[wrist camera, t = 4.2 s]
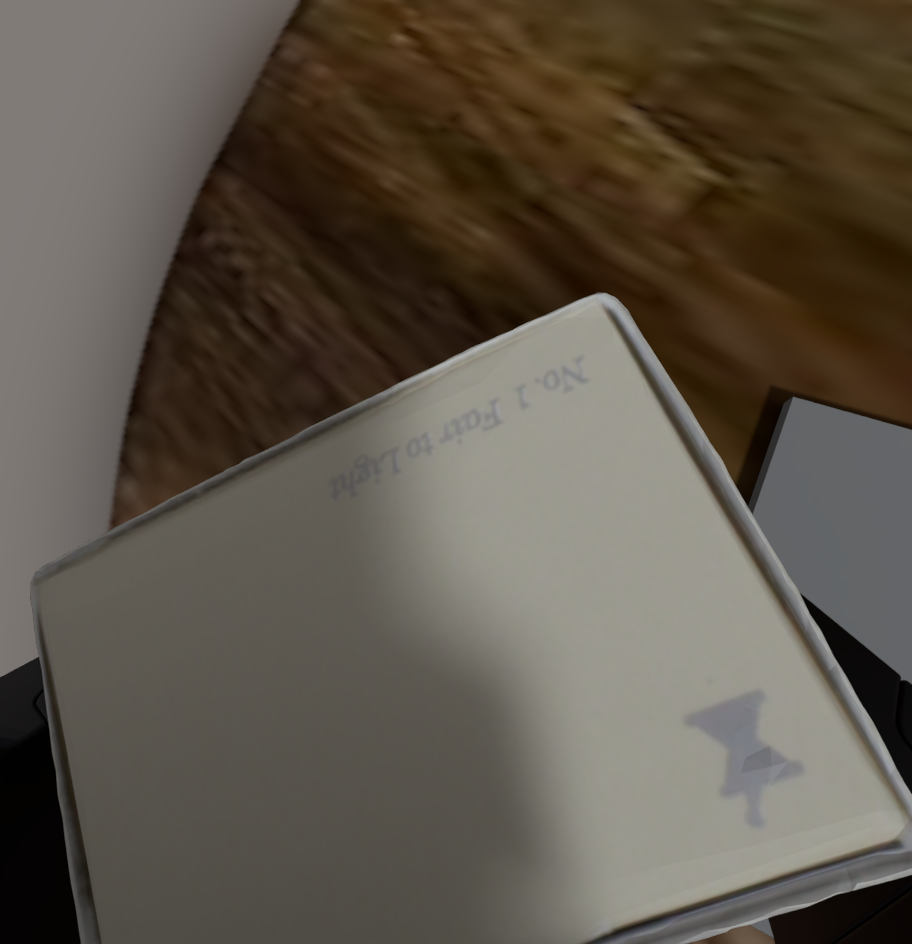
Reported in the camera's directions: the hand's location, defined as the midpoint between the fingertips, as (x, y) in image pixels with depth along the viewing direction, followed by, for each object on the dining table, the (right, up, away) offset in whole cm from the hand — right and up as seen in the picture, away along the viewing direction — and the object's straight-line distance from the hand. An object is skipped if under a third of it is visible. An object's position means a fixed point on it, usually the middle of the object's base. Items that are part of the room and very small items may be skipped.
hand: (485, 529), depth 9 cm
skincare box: (+1, -3, +6) cm, 7 cm away
